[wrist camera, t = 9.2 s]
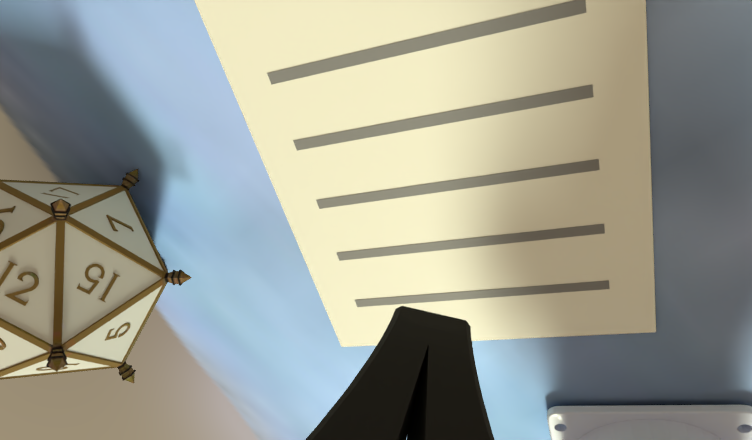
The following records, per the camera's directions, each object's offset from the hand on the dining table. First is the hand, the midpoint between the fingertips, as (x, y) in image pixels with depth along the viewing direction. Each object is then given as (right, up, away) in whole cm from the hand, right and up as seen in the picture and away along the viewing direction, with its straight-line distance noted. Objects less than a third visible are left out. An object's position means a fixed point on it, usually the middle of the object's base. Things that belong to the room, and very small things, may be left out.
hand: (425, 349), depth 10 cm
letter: (+1, +5, +8) cm, 9 cm away
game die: (-12, +3, +13) cm, 18 cm away
